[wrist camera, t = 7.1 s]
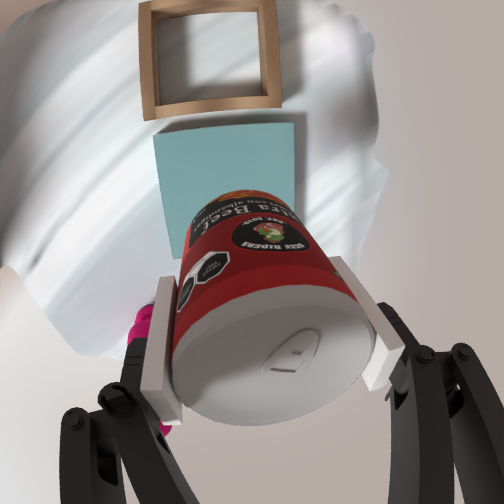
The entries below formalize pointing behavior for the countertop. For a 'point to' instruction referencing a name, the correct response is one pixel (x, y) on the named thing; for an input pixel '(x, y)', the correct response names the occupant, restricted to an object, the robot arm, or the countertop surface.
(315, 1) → the countertop surface
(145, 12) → the collar
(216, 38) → the countertop surface
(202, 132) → the plate
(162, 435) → the robot arm
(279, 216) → the canned food
